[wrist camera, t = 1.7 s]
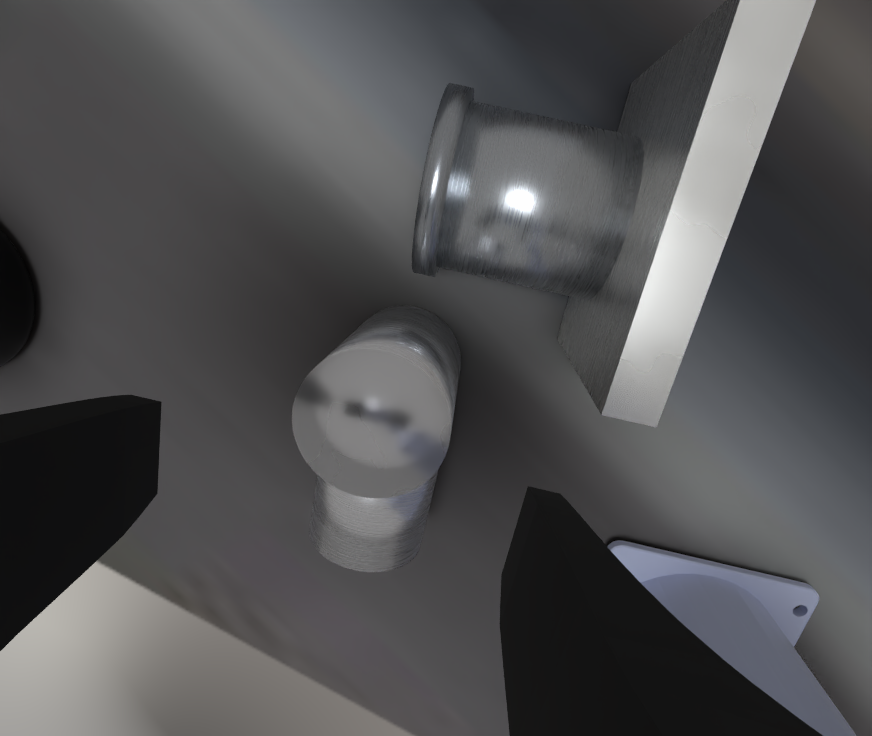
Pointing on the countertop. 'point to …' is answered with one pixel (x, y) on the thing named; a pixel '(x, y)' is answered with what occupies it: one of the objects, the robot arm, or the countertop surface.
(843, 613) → the countertop surface
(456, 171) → the duct stub
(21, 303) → the supplement bottle
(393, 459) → the elbow
